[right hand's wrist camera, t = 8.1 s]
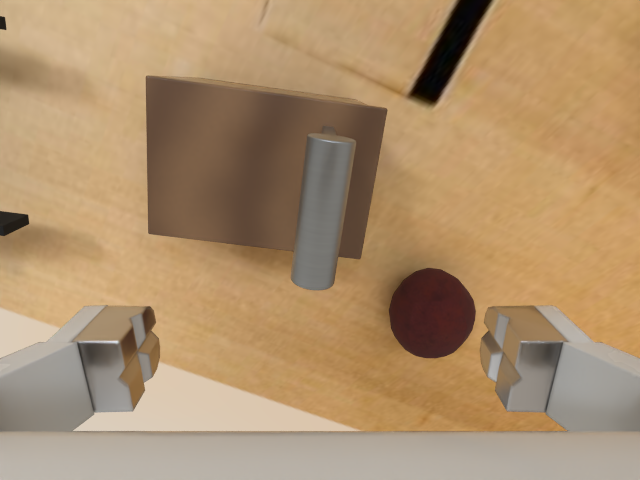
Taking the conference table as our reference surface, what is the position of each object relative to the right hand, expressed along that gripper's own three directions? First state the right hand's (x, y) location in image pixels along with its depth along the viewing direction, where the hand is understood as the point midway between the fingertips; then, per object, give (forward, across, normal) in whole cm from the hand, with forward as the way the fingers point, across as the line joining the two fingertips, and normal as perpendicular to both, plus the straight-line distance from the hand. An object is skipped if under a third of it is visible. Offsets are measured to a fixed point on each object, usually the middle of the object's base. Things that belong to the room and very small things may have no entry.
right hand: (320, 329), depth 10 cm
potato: (+27, +10, -13) cm, 31 cm away
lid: (+17, -4, 0) cm, 18 cm away
